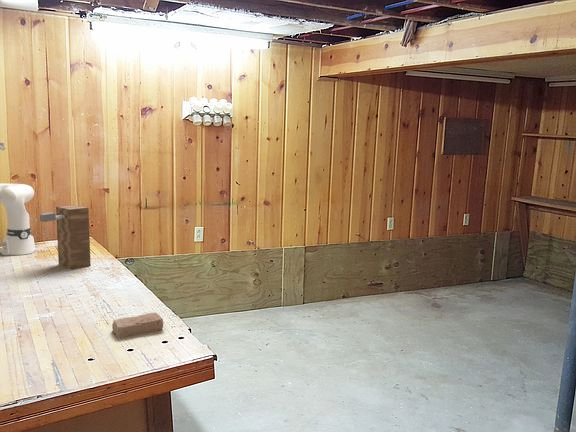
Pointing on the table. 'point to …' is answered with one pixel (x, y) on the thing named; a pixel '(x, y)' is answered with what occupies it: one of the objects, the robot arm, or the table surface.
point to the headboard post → (73, 236)
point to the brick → (137, 324)
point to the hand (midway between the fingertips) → (4, 146)
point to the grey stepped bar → (50, 217)
